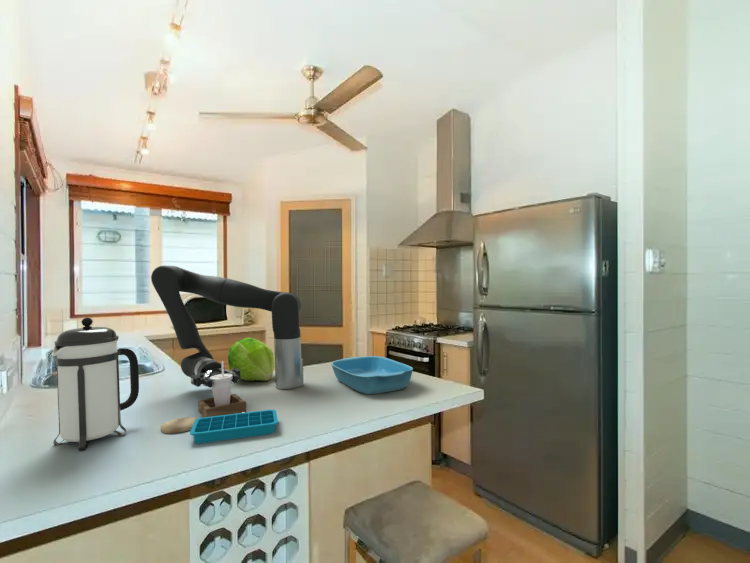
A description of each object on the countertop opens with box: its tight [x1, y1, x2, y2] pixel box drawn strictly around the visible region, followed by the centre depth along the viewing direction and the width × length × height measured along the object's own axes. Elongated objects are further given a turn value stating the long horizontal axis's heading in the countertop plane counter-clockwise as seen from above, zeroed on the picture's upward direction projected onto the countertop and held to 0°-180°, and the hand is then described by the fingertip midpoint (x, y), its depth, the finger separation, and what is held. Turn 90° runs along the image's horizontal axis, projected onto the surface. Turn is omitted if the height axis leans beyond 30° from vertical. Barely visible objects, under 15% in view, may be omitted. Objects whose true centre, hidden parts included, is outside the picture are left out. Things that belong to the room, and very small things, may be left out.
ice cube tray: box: [189, 409, 279, 444], centre depth 103 cm, size 12×20×3 cm, turn 107°
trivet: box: [160, 417, 198, 435], centre depth 107 cm, size 9×9×1 cm
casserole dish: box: [330, 355, 414, 395], centre depth 146 cm, size 37×22×7 cm, turn 26°
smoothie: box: [210, 361, 233, 407], centre depth 119 cm, size 6×6×14 cm
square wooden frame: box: [197, 393, 247, 418], centre depth 119 cm, size 11×11×3 cm
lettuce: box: [227, 337, 275, 382], centre depth 156 cm, size 17×20×16 cm
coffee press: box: [51, 317, 140, 452], centre depth 101 cm, size 17×16×30 cm
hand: (223, 381), depth 117 cm, fingers closed on smoothie, 6 cm apart
